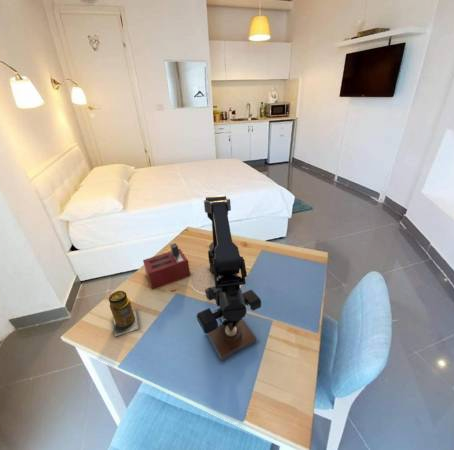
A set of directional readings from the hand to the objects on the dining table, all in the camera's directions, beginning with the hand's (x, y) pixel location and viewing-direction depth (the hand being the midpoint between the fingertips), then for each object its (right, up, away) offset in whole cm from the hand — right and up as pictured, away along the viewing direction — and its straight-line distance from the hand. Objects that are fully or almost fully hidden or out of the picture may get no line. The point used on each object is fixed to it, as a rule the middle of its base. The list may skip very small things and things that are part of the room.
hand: (230, 329), depth 77 cm
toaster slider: (-24, +20, +30) cm, 43 cm away
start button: (0, -2, +1) cm, 2 cm away
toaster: (-27, +11, +30) cm, 42 cm away
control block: (0, -4, +2) cm, 5 cm away
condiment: (-36, -2, +9) cm, 37 cm away
